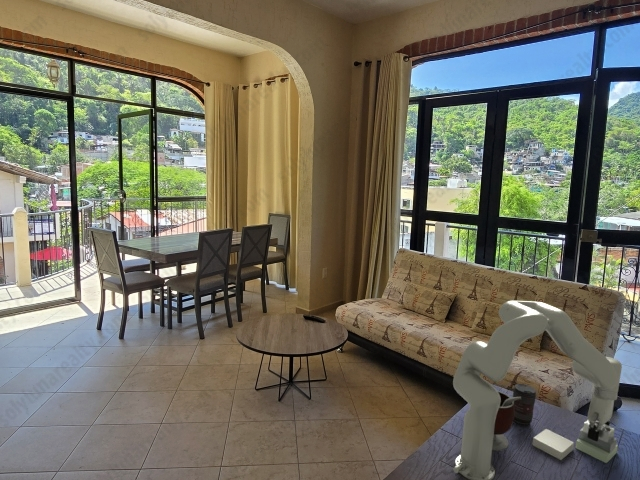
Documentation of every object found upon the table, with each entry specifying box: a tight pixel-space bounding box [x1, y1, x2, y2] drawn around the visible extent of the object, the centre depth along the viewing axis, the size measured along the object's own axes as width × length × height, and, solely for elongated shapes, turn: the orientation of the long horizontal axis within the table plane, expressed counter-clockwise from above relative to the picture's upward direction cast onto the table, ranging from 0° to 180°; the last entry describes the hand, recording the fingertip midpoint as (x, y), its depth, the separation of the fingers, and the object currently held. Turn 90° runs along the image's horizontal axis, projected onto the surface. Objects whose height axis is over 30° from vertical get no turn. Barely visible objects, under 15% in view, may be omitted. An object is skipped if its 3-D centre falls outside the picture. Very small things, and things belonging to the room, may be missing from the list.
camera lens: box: [512, 383, 537, 428], centre depth 166 cm, size 8×8×15 cm
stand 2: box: [575, 438, 619, 464], centre depth 150 cm, size 10×10×3 cm
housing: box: [578, 419, 618, 453], centre depth 150 cm, size 10×6×7 cm, turn 37°
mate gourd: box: [492, 390, 521, 452], centre depth 153 cm, size 16×14×20 cm
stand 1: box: [532, 428, 575, 461], centre depth 151 cm, size 10×10×3 cm
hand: (597, 434), depth 150 cm, fingers open, 9 cm apart
